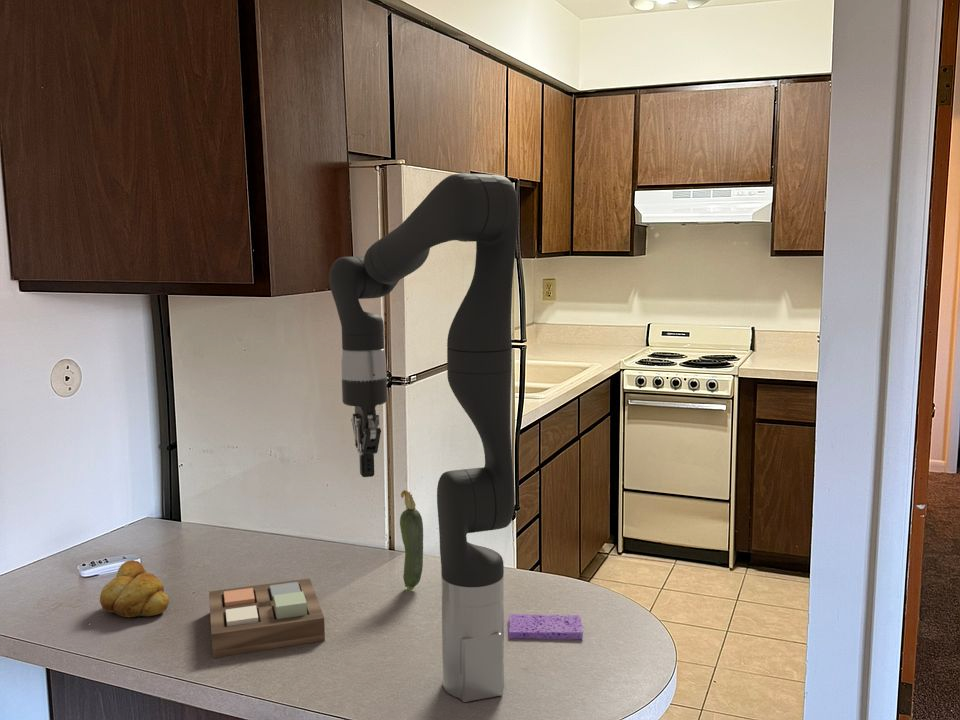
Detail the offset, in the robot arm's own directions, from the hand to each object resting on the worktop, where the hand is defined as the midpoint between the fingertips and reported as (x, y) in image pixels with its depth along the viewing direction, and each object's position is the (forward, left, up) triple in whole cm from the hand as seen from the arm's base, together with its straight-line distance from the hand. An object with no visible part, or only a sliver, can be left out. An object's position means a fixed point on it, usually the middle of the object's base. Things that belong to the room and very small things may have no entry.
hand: (367, 475), depth 146 cm
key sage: (+1, +14, -24) cm, 27 cm away
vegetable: (+11, -10, -27) cm, 31 cm away
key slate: (+9, +14, -25) cm, 30 cm away
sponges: (-13, -28, -27) cm, 41 cm away
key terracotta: (+9, +22, -25) cm, 34 cm away
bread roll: (+19, +39, -27) cm, 51 cm away
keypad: (+5, +18, -27) cm, 32 cm away
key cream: (+1, +22, -25) cm, 33 cm away
